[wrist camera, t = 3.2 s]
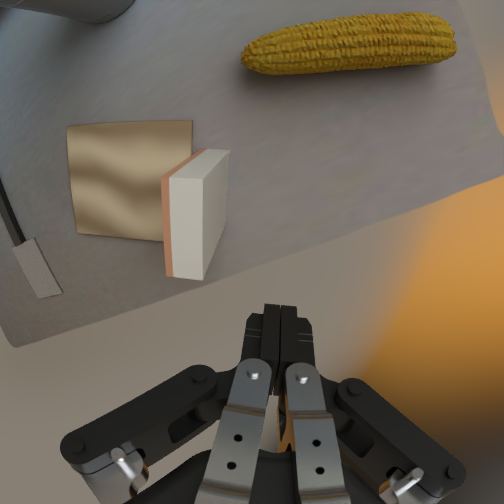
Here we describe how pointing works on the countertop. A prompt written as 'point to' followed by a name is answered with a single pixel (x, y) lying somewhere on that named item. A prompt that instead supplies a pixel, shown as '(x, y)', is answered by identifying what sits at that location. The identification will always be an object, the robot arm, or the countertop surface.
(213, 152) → the sponge
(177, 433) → the robot arm
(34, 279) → the knife with black handle
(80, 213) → the board
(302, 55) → the food
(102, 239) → the countertop surface
